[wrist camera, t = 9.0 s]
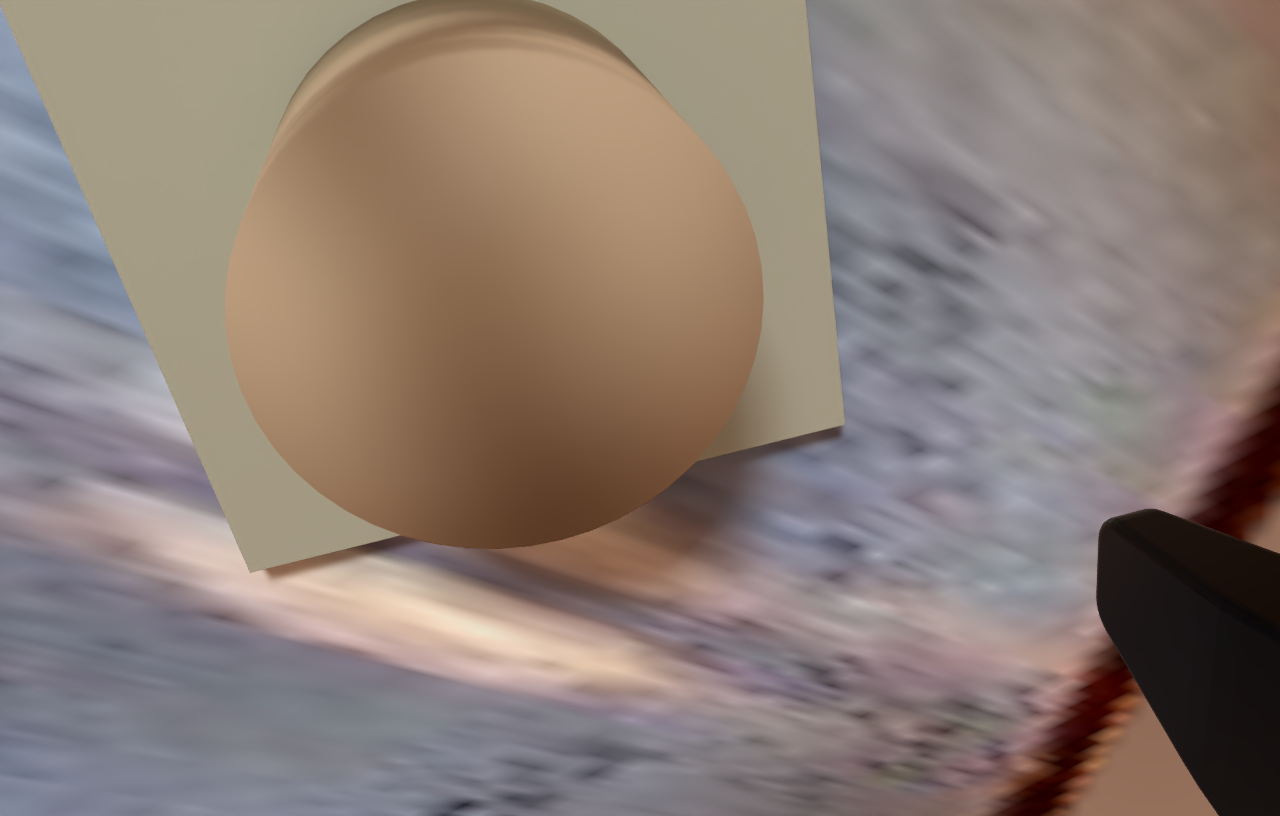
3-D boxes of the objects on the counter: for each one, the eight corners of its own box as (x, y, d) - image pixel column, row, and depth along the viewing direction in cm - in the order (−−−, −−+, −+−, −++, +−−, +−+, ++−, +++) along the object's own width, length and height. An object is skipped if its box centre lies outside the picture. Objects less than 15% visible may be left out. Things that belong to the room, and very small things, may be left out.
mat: (769, -261, 17) (780, -263, 16) (835, 410, 23) (845, 424, 22) (-32, -102, 16) (-45, -98, 16) (253, 554, 22) (250, 572, 22)
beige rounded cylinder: (648, -50, 18) (727, -3, 13) (710, 342, 21) (788, 482, 17) (203, 44, 17) (134, 126, 13) (341, 431, 20) (324, 599, 16)
